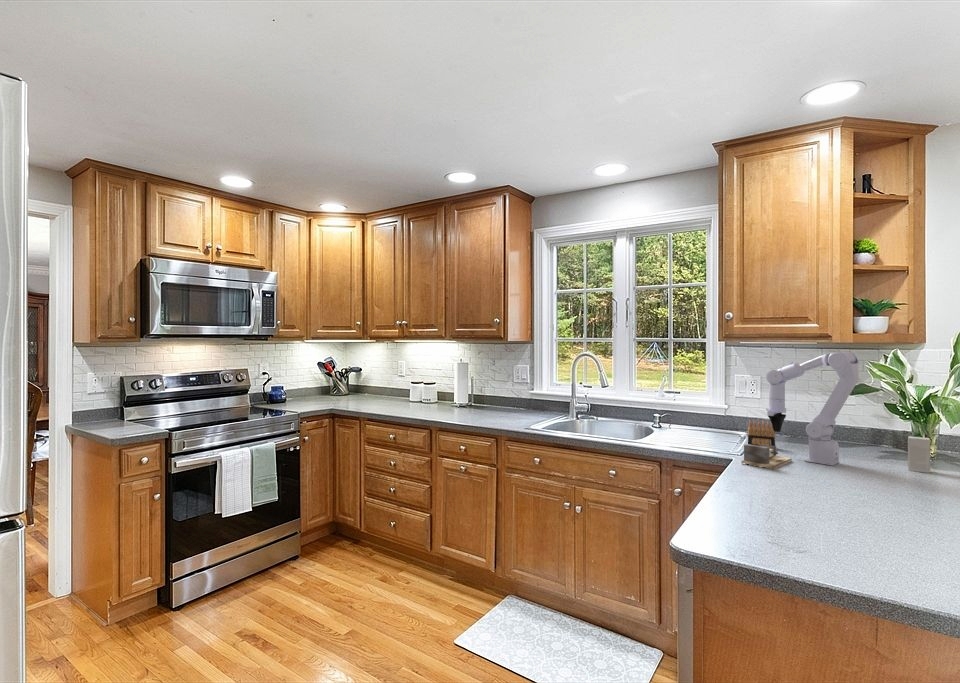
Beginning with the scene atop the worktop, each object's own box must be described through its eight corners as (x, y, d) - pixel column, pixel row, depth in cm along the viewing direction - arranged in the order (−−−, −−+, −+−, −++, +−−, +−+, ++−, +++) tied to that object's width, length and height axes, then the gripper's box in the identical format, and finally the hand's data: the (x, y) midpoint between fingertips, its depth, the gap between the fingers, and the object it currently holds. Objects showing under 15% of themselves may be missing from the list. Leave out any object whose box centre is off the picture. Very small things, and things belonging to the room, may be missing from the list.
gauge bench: (791, 461, 202) (791, 442, 202) (772, 469, 190) (772, 449, 190) (761, 456, 210) (761, 438, 210) (741, 463, 198) (741, 445, 198)
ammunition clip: (747, 446, 231) (747, 419, 231) (748, 445, 232) (748, 418, 232) (775, 449, 225) (775, 421, 224) (775, 448, 226) (775, 420, 226)
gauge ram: (780, 456, 200) (780, 447, 200) (773, 459, 195) (773, 449, 195) (760, 452, 206) (760, 444, 206) (752, 455, 201) (752, 446, 201)
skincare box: (930, 471, 186) (930, 437, 186) (929, 473, 183) (929, 439, 183) (908, 468, 190) (908, 435, 190) (907, 470, 187) (907, 437, 187)
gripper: (773, 396, 222) (773, 428, 222) (759, 399, 213) (759, 432, 213) (791, 398, 217) (791, 430, 217) (778, 400, 207) (778, 434, 207)
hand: (777, 431), depth 214 cm, fingers closed
